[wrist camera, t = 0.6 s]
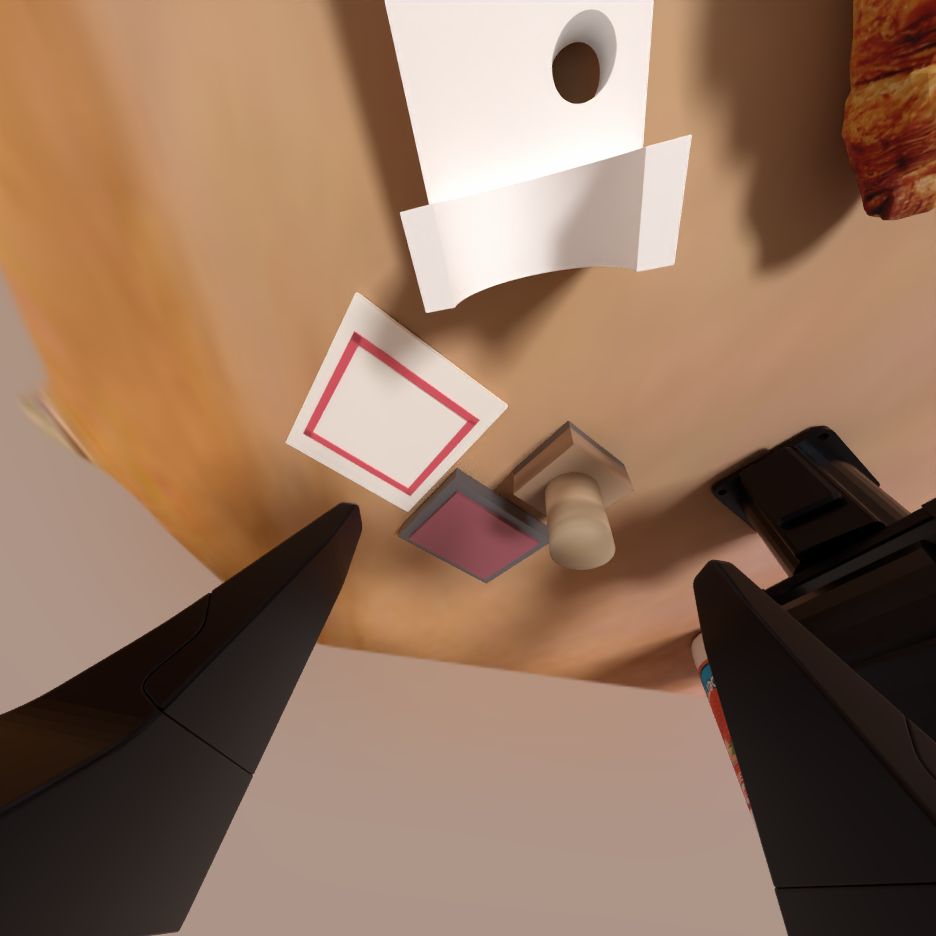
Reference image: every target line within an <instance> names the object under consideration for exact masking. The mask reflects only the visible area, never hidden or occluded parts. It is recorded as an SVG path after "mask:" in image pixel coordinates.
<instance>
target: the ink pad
mask: <svg viewBox="0 0 936 936" xmlns="http://www.w3.org/2000/svg"><path fill="white" fill-rule="evenodd" d="M398 536H399V537H400V538H402V539H404V540H406V541H408V542H410V543H412V544H413V545H415V546H417V547H419V548H421V549H423V550H425V551H426V552H428V553H430V554H432V555H434V556H436V557H438V558H440V559H441V560H443V561H445V562H447V563H449V564H451V565H453V566H454V567H456V568H458V569H460V570H462V571H464V572H466V573H467V574H469V575H471V576H473V577H475V578H477V579H479V580H481V581H482V582H484V583H488V582H490V581H491V580H493V579H494V578H496V577H497V576H499V575H500V574H502V573H503V572H505V571H507V570H508V569H510V568H511V567H513V566H514V565H516V564H517V563H519V562H520V561H522V560H524V559H525V558H527V557H528V556H530V555H531V554H533V553H534V552H536V551H537V550H539V549H541V548H542V547H544V546H545V545H547V544H548V543H549V537H548V526H546V525H545V524H543V523H542V522H540V521H538V520H537V519H535V518H534V517H532V516H531V515H529V514H528V513H526V512H524V511H523V510H521V509H520V508H518V507H517V506H515V505H514V504H512V503H510V502H509V501H507V500H506V499H504V498H503V497H501V496H500V495H498V494H496V493H495V492H493V491H492V490H490V489H489V488H487V487H486V486H484V485H482V484H481V483H479V482H478V481H476V480H475V479H473V478H472V477H470V476H468V475H467V474H465V473H464V472H462V471H461V470H459V469H458V468H457V469H456V470H455V471H454V472H453V473H452V474H451V475H450V476H449V477H448V478H447V479H446V480H445V481H444V482H443V483H442V484H441V485H440V486H439V487H438V488H437V490H436V491H435V492H434V493H433V494H432V495H431V496H430V497H429V498H428V499H427V500H426V501H425V502H424V503H423V504H422V505H421V506H420V507H419V508H418V509H417V510H416V511H415V512H414V513H413V514H412V515H411V516H410V517H409V518H408V519H407V520H406V521H405V522H404V523H403V524H402V526H401V529H400V532H399V535H398Z"/></svg>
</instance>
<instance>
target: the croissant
mask: <svg viewBox="0 0 936 936" xmlns="http://www.w3.org/2000/svg"><path fill="white" fill-rule="evenodd" d="M849 72H850V81H851V92H850V94H849V96H848V98H847V100H846V102H845V111H844V123H843V128H842V137H843V140H844V143H845V146H846V150H847V154H848V157H849V161H850V165H851V169H852V170H853V172H854V174H855V176H856V178H857V181H858V185H859V189H860V193H861V197H862V201H863V207H864V210H865V211H866V213H867V215H869V216H874V217H881V219H882V220H898V219H902V218H905V217H908V216H912V215H915V214H920V213H925V212H928V211H930V210H932V209H934V208H935V207H936V0H853V42H852V50H851V58H850V66H849Z"/></svg>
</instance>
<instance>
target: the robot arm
mask: <svg viewBox="0 0 936 936" xmlns="http://www.w3.org/2000/svg"><path fill="white" fill-rule="evenodd" d="M821 434H822V435H821ZM820 435H821V436H820ZM818 436H819V437H818ZM879 486H880V484H879V482H878V481H877V480H876V479H875V478H874V477H873V475H872V474H871V473H870V472H869V471H868V470H867V469H866V467H865V466H864V465H863V464H862V463H861V462H860V461H859V459H858V458H857V457H856V456H855V455H854V454H853V453H852V451H851V450H850V449H849V448H848V447H847V446H846V445H845V443H844V442H843V441H842V440H841V439H840V438H839V437H838V435H837V434H836V433H835V432H834V431H833V430H831V429H830V428H829V427H827V426H818V427H816V428H813V429H812V430H810V431H808V432H806V433H805V434H803V435H801V436H799V437H798V438H796V439H794V440H792V441H791V442H789V443H787V444H785V445H783V446H782V447H780V448H778V449H776V450H775V451H773V452H771V453H769V454H768V455H766V456H764V457H762V458H761V459H759V460H757V461H755V462H753V463H752V464H750V465H748V466H746V467H745V468H743V469H741V470H739V471H738V472H736V473H734V474H732V475H731V476H729V477H727V478H725V479H723V480H722V481H720V482H718V483H716V484H715V485H713V486H712V488H711V491H712V493H713V494H714V496H715V497H716V498H717V499H718V500H720V501H721V502H722V503H723V504H724V505H726V506H727V507H728V508H729V509H730V510H732V511H733V512H734V513H735V514H736V515H737V516H739V517H740V518H741V519H742V520H743V521H745V522H746V523H747V524H748V525H749V526H750V527H752V528H753V529H754V530H755V531H756V532H758V534H759V535H760V537H761V538H762V540H763V541H764V542H765V544H766V545H767V547H768V548H769V550H770V551H771V552H772V554H773V555H774V557H775V558H776V560H777V561H778V562H779V564H780V565H781V567H782V568H783V570H784V571H785V572H786V574H787V575H788V577H789V578H787V579H785V580H783V581H781V582H779V583H777V584H775V585H773V586H771V587H769V588H767V589H766V590H764V589H760V588H759V587H758V586H757V585H756V584H755V583H754V582H752V581H751V580H750V579H749V578H748V577H747V576H746V575H745V574H743V573H742V572H741V571H740V570H739V569H738V568H737V567H735V566H734V565H733V564H732V563H729V562H726V561H720V560H711V561H709V562H708V563H707V564H706V565H705V566H704V567H703V569H702V570H701V571H700V572H699V573H698V575H697V576H696V577H695V579H694V583H693V588H694V594H695V600H696V605H697V611H698V616H699V622H700V628H701V633H702V639H703V643H704V648H705V651H706V655H707V659H708V662H709V666H710V669H711V673H712V676H713V679H714V683H715V686H716V690H717V693H718V697H719V700H720V703H721V707H722V710H723V714H724V717H725V721H726V724H727V727H728V731H729V734H730V738H731V741H732V744H733V748H734V751H735V755H736V758H737V762H738V765H739V768H740V772H741V775H742V779H743V782H744V786H745V789H746V792H747V796H748V799H749V803H750V806H751V809H752V813H753V816H754V820H755V823H756V827H757V830H758V833H759V837H760V840H761V844H762V847H763V851H764V854H765V857H766V861H767V864H768V868H769V871H770V874H771V878H772V881H773V884H774V886H775V887H776V888H775V893H776V896H777V899H778V903H779V906H780V910H781V913H782V917H783V920H784V923H785V927H786V930H787V934H788V936H936V498H934V499H933V500H931V501H929V502H927V503H925V504H923V505H921V506H922V507H923V508H921V509H919V510H917V511H915V512H913V513H910V512H909V511H907V510H906V509H905V508H904V507H903V506H901V505H900V504H899V503H898V502H896V501H895V500H894V499H893V498H892V497H890V496H889V495H888V494H887V493H885V492H884V491H883V490H882V489H881V488H879ZM722 489H723V490H722ZM720 490H721V491H720ZM361 531H362V521H361V516H360V510H359V506H358V505H357V504H355V503H349V502H341V503H339V504H338V505H336V506H335V507H333V508H332V509H331V510H329V511H328V512H326V513H325V514H323V515H322V516H320V517H319V518H317V519H316V520H314V521H313V522H312V523H310V524H309V525H307V526H306V527H304V528H303V529H301V530H300V531H298V532H297V533H295V534H294V535H293V536H291V537H290V538H288V539H287V540H285V541H284V542H282V543H281V544H279V545H278V546H277V547H275V548H274V549H272V550H271V551H269V552H268V553H266V554H265V555H263V556H262V557H260V558H259V559H258V560H256V561H255V562H253V563H252V564H250V565H249V566H247V567H246V568H244V569H243V570H242V571H240V572H239V573H237V574H236V575H234V576H233V577H231V578H230V579H228V580H227V581H225V582H224V583H223V584H221V585H220V586H218V587H217V588H215V589H214V590H213V591H212V593H208V594H206V595H205V596H203V597H202V598H201V599H199V600H198V601H196V602H195V603H193V604H192V605H190V606H189V607H187V608H186V609H184V610H183V611H181V612H180V613H178V614H177V615H175V616H174V617H172V618H171V619H169V620H167V621H166V622H164V623H163V624H161V625H160V626H158V627H157V628H155V629H153V630H152V631H150V632H148V633H147V634H145V635H143V636H142V637H140V638H138V639H137V640H135V641H134V642H132V643H130V644H129V645H127V646H125V647H123V648H122V649H120V650H118V651H117V652H115V653H113V654H112V655H110V656H108V657H107V658H105V659H103V660H102V661H100V662H98V663H97V664H95V665H93V666H92V667H90V668H88V669H87V670H85V671H83V672H82V673H80V674H78V675H77V676H75V677H73V678H71V679H70V680H68V681H66V682H65V683H63V684H61V685H60V686H58V687H56V688H54V689H53V690H51V691H49V692H47V693H46V694H44V695H42V696H40V697H38V698H36V699H34V700H32V701H30V702H28V703H26V704H24V705H22V706H20V707H18V708H15V709H13V710H11V711H8V712H6V713H4V714H1V715H0V936H151V935H159V934H166V933H174V932H178V931H179V930H180V928H181V926H182V924H183V922H184V921H185V919H186V917H187V914H188V912H189V910H190V908H191V906H192V904H193V902H194V900H195V898H196V895H197V893H198V891H199V889H200V887H201V885H202V883H203V881H204V879H205V877H206V874H207V872H208V870H209V868H210V866H211V864H212V862H213V860H214V858H215V855H216V853H217V851H218V849H219V847H220V845H221V843H222V841H223V838H224V836H225V834H226V832H227V830H228V828H229V826H230V824H231V822H232V819H233V817H234V815H235V813H236V811H237V809H238V807H239V805H240V802H241V800H242V798H243V796H244V794H245V792H246V790H247V788H248V786H249V783H250V781H251V779H252V777H253V775H252V774H254V773H255V770H256V768H257V766H258V764H259V762H260V760H261V758H262V756H263V753H264V751H265V749H266V747H267V745H268V743H269V741H270V739H271V736H272V734H273V732H274V730H275V728H276V726H277V724H278V722H279V720H280V717H281V715H282V713H283V711H284V709H285V707H286V705H287V703H288V701H289V699H290V696H291V694H292V692H293V690H294V688H295V686H296V684H297V682H298V679H299V677H300V675H301V673H302V671H303V669H304V667H305V665H306V662H307V660H308V658H309V656H310V654H311V652H312V650H313V648H314V646H315V644H316V642H317V639H318V637H319V635H320V633H321V631H322V629H323V627H324V625H325V622H326V620H327V618H328V616H329V614H330V612H331V610H332V608H333V606H334V603H335V601H336V599H337V597H338V595H339V593H340V591H341V588H342V586H343V584H344V581H345V578H346V575H347V573H348V570H349V567H350V564H351V561H352V558H353V555H354V552H355V549H356V546H357V543H358V540H359V538H360V535H361Z"/></svg>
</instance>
